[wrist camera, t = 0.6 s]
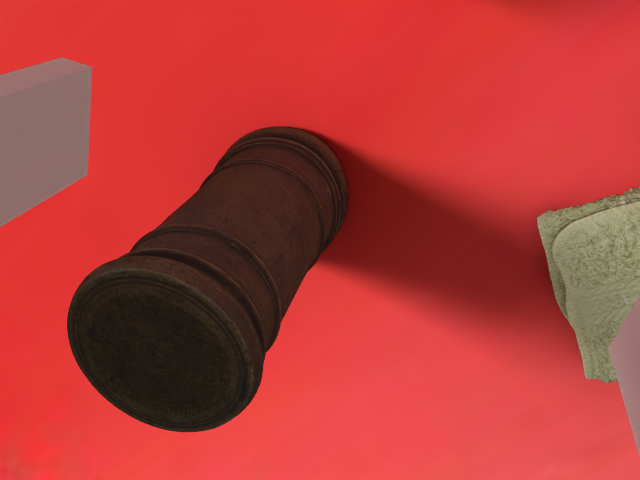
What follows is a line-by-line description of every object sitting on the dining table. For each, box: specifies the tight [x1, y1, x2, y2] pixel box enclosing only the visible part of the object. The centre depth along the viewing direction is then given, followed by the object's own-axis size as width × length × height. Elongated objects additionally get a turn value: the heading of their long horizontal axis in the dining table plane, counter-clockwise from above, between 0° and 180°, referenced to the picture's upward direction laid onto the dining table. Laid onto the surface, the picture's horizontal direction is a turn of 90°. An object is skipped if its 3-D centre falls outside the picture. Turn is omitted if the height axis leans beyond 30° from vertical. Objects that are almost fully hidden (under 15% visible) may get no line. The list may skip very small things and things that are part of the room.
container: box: [67, 127, 348, 432], centre depth 32 cm, size 9×9×18 cm
